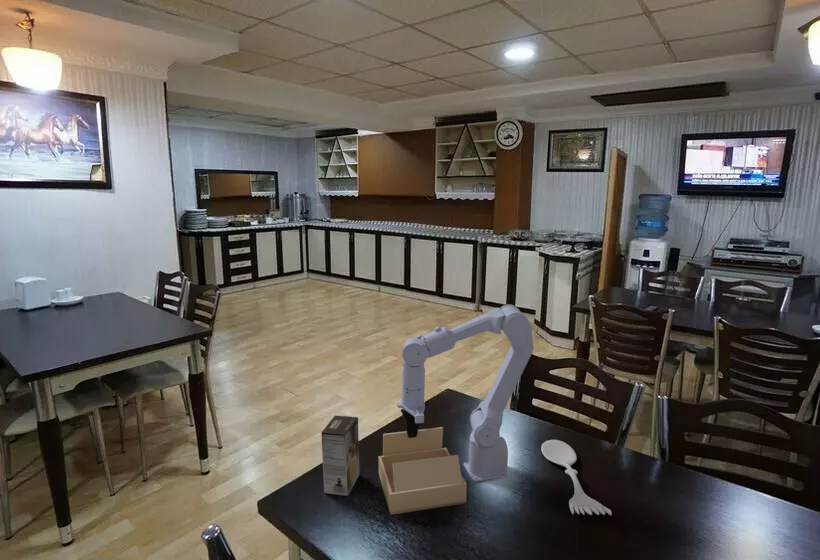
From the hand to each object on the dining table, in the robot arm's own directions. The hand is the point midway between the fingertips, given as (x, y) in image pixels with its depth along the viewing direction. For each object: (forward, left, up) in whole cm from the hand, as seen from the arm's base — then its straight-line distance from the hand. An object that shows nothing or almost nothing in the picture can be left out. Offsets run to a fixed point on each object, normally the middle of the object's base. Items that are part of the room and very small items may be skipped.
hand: (412, 436), depth 120 cm
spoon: (-38, +12, -10) cm, 41 cm away
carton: (0, +7, -10) cm, 12 cm away
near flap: (0, +13, -2) cm, 13 cm away
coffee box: (+18, +1, -10) cm, 21 cm away
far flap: (0, 0, -2) cm, 2 cm away
